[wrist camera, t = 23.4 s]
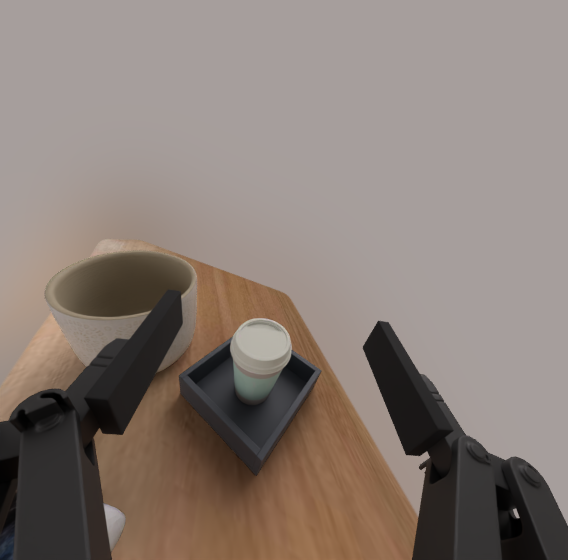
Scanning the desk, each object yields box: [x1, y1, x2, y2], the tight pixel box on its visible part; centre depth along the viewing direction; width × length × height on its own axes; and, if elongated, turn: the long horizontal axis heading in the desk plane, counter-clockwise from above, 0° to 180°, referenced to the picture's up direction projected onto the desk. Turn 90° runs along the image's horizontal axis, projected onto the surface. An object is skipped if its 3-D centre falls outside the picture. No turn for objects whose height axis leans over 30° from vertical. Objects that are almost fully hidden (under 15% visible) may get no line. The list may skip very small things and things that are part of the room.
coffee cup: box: [230, 318, 292, 405], centre depth 32 cm, size 8×8×12 cm
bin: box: [179, 337, 321, 476], centre depth 34 cm, size 16×16×5 cm
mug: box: [0, 489, 125, 560], centre depth 17 cm, size 10×12×10 cm
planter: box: [45, 251, 197, 373], centre depth 34 cm, size 17×17×15 cm
